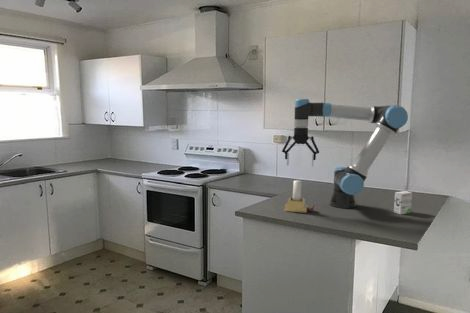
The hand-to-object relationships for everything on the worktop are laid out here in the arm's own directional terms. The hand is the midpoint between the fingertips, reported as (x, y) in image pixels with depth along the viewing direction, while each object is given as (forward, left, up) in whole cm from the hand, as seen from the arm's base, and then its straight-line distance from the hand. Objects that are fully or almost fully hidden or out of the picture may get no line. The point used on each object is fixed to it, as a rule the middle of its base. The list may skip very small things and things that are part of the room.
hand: (300, 165), depth 207 cm
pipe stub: (+1, +2, -23) cm, 23 cm away
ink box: (-57, -12, -25) cm, 64 cm away
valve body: (-1, +2, -25) cm, 25 cm away
